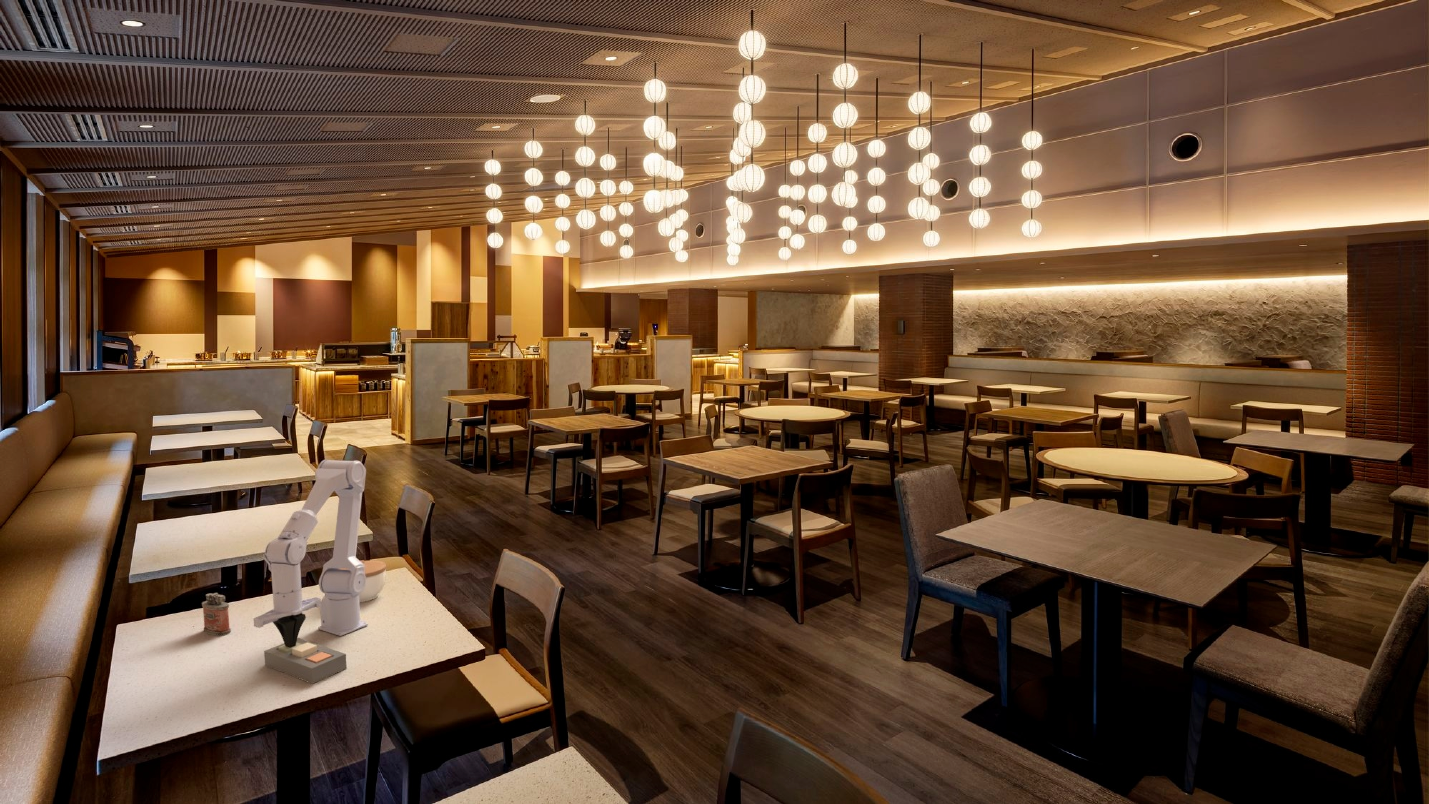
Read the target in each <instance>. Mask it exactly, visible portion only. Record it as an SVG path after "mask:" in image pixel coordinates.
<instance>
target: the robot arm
mask: <svg viewBox="0 0 1429 804" xmlns="http://www.w3.org/2000/svg"><path fill="white" fill-rule="evenodd" d="M366 474H367V468H366V466H364V464H363V463H362V461H360V460H337V459H336V460H333V459H331V460H330V459H323V460H322V461H321V462H320V463H319V464H318V466H317V469H316V470H315V472H314V479H315V482H314V484H313V487H312V489H311V490H310V492H309V495H308V496H307V497H306V499H305V502H304V504H303V506H302V508H301V509H300V510H295V511H294V512H293V513H292V514H291V516H290V518H289V519H288V521H287V523H286V524H285V525H284V527H283V529H282V530H281V532H280V534H279V535H278V536H277V538H273V540H271V541H270V542H269V543H268V544H267V545H266V547H265V550H264V553H263V558H264V561H265V563H267V567H268V570H269V571H270V572H271V586H272V601H273V608H272V609H271V610H268V611H266V612H265V613H263V614H261V615H258V616H256V617H253V627H255V628H258V629H261V628H263V627H264V626H265V625H268V624H271V623H272V624H273V625H274V626H275V628H277V630H278V632H279V633H280V635H281V638H282V640H283V644H285V646H286V647H289V648H291V647H294V646H296V642H297V638H299V637H298V636H299V634H300V631H301V628H302V626H303V623H304V622H305V620H306V618H307V617H306V614H305V613H303V612H305V611H308V610H311V609H314V608H319V609H320V626H318V627H317V629H318V630H321V631H324V632H327V633H330V634H332V635H337V636H339V637H343V636H344V635H345V636H346V634H349V633H352V632H354V631H357V630H359V629H361V628H364V627H367V626H368V625H369V623H368V622H366V621H362V620H361V609H360V606H361V605H360V602H359V594H360V593H361V592H362V590H363V589H364V587H365V584H366V576H365V565H364V564H363V563H362V562H361V560H359V558H357V556H356V555H357V549H358V548H357V547H358V546H357V545H358V537H359V528H360V517H361V509H362V499H363V498H362V497H363V492H364V491H365V487H366V486H365V484H366V477H367V476H366ZM333 492H335V494H336V495H337V496H338V504H337V505H338V506H337V515H336V525H335V534H334V543H333V553H332V558H330V559H329V560H328V561H327V562H325V563H324V564H323V566H322V572H321V575H320V576H319V579H318V587H319V590H320V592H321V593H323V594H324V596H323V597H322V598H321V597H320V598H319V597H316V596H314V597H312V598H307V599H304V600H303V594H302V593H303V589H302V574H301V562H302V561H303V559H304V558H305V556H306V552H307V546H308V539H309V537H310V536H311V534H312V532H313V531H314V529H315V528H316V526H317V524H318V522H319V521H318V518H317V515H318V513H319V512H320V511H321V509H322V508H323V507H324V505H325V503H326V502H327V501H328V499H329V498H330V497H331V495H332V494H333ZM339 568H340V569H349V570H340V569H339Z"/></svg>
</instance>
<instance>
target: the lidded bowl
mask: <svg viewBox="0 0 1429 804" xmlns="http://www.w3.org/2000/svg"><path fill="white" fill-rule="evenodd" d="M360 561H361V562H362V563H363V564H364V565H365V576H366V584H365V587H364V589H363V590H362V592H361V593H360V594H359V603H365V601H366V602H369V601H371V600H372V599H373V600H375V599H376V598H377V597H378V595H379V594H380V593H381V592H382V590H383V588H384V587H385V584H386V580H387V579H386V577H387V575H386V574H387V571H386V570H387V565H386V562H383V561H380V560H364V559H363V560H361V559H360ZM338 569H340V568H338ZM340 570H349V569H340ZM373 600H372V601H373Z"/></svg>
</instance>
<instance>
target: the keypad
mask: <svg viewBox="0 0 1429 804" xmlns="http://www.w3.org/2000/svg"><path fill="white" fill-rule="evenodd" d="M307 642H308V643H311V644H314V645H317V652H316V653H313V654H311V655H308V656H306V657H303V658H299V657H296V656H293V655H292V651H291V652H289V653H285V652H282V651H279V650H278V647H280V646H283V645H285V644H284V643H281V644H278V645H276V646H273V647H271V648H269V649H266V650H264V652H263V655H264V666H265V667H269V668H270V669H274V670H276V671H279V672H281V673H283V672H284V674H286V675H289V676H291V677H294V676H295V677H294V678H297V679H299V678H300V680H302V679H303V680H302V681H304V682H307V681H308V682H307V683H310V684H312V685H313V684H315V683H318V682H320V681H322V680H325V679H326V677H327V678H329V677H331V676H333V675H335V673H336V674H338V673H339V672H338V671H340V672H342V671H344V670H343V669H345V670H346V668H347V653H344V652H341V651H340V650H335V649H332V648H329V647H327V646H323V645H320V644H318V643H314V642H313V641H312V642H311V641H309V640H306V639H303V638H300V637H298V638H297V643H300V644H305V643H307ZM321 652H324V653H327V654H330V655H332V657H330V658H328V659H326V660H323V661H321V662H319V663H316V664H315V663H313V662H310V661H307V658H308V657H311V656H313V655H316V654H318V653H321ZM341 670H342V671H341ZM337 672H338V673H337ZM332 674H333V675H332ZM328 676H329V677H328Z"/></svg>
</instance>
